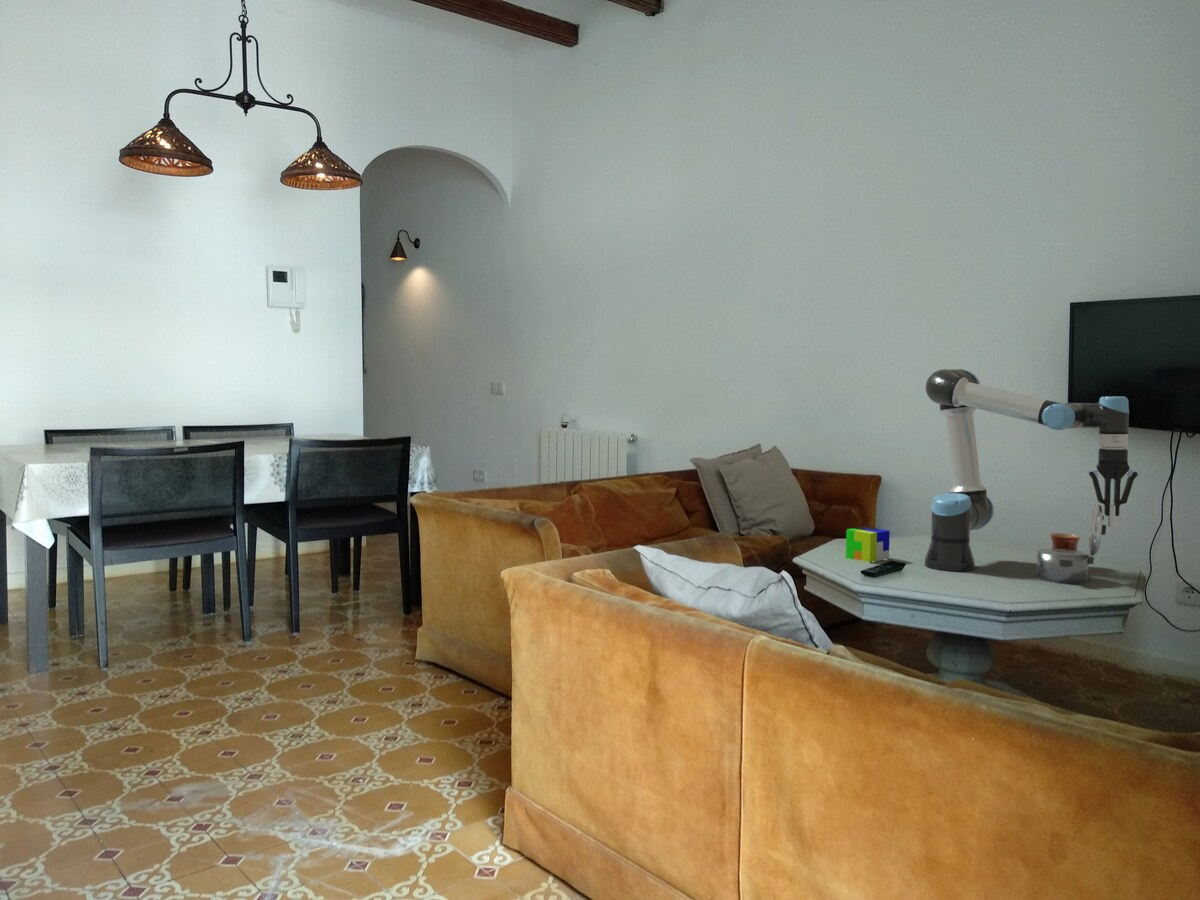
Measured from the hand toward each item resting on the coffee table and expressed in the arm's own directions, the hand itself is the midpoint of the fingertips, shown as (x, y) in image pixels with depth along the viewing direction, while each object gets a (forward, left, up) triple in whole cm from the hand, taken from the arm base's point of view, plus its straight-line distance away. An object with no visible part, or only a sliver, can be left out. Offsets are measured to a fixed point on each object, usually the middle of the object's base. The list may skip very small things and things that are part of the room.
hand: (1111, 526), depth 259 cm
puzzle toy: (-71, +9, -17) cm, 73 cm away
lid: (-5, 0, -1) cm, 5 cm away
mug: (-10, +19, -17) cm, 27 cm away
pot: (-13, 0, -17) cm, 21 cm away
